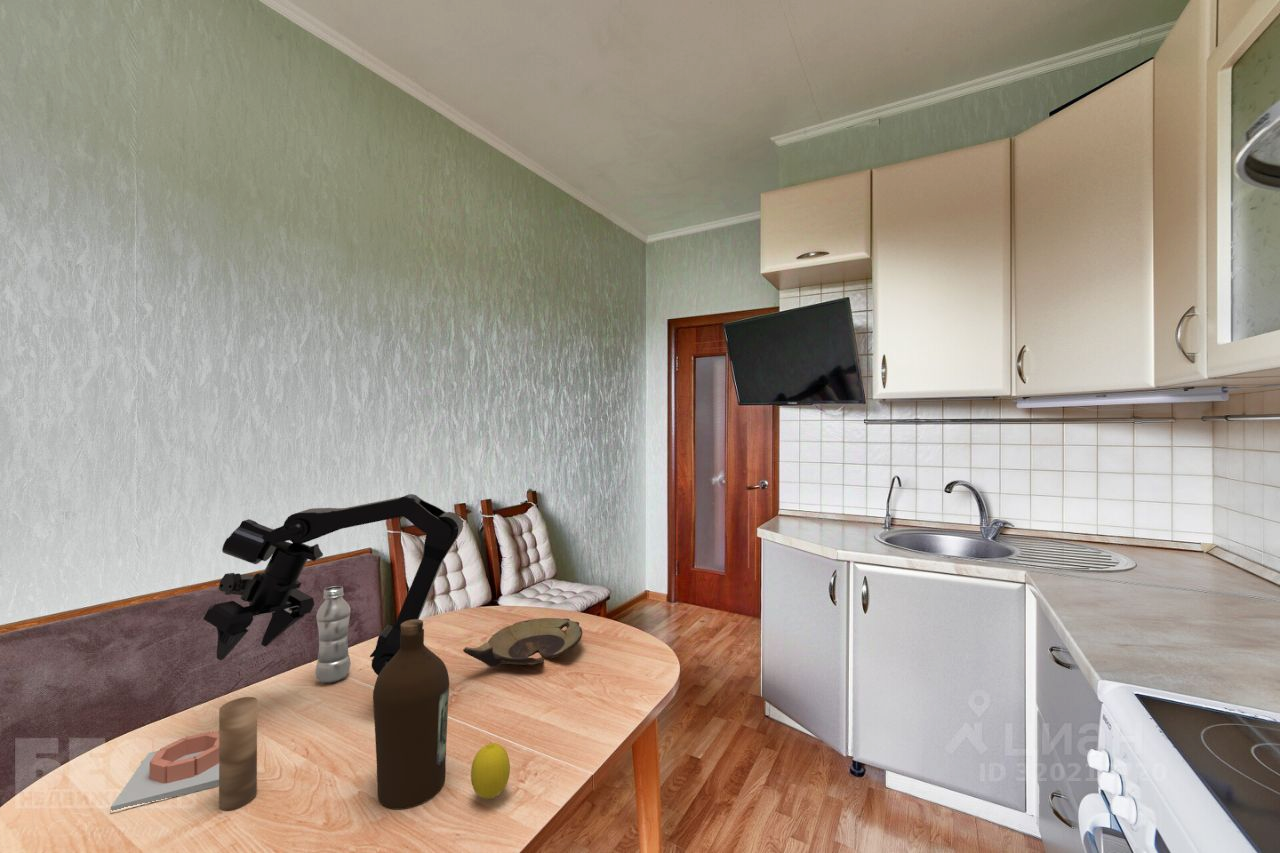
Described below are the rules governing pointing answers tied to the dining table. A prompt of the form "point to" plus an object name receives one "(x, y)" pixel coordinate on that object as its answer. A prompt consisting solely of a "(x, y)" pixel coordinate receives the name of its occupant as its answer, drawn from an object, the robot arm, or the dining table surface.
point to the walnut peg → (237, 753)
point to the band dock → (174, 771)
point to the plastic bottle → (333, 636)
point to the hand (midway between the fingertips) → (242, 651)
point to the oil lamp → (528, 642)
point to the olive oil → (411, 722)
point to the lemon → (490, 770)
